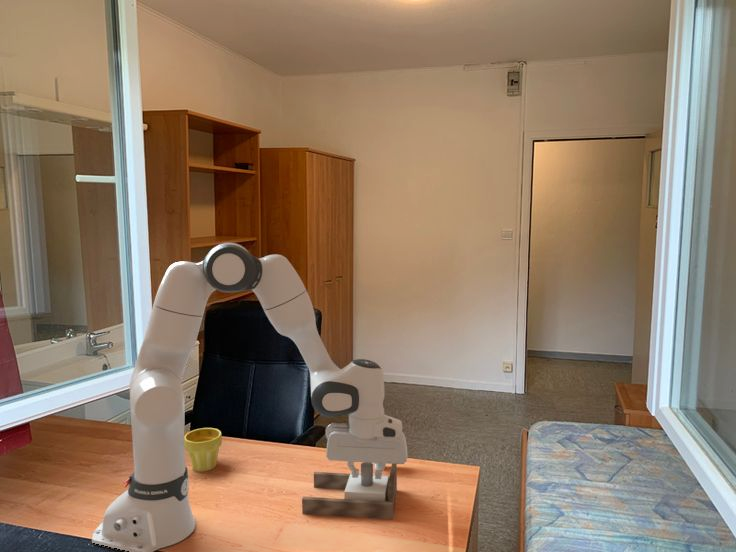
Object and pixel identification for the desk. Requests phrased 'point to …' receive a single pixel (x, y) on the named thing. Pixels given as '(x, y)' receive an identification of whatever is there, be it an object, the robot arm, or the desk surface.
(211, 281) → the robot arm
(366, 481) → the white box with knob
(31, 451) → the desk surface
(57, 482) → the desk surface
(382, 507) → the bay
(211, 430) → the plant pot
